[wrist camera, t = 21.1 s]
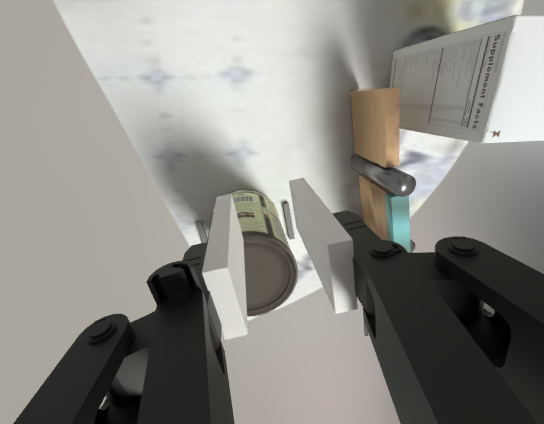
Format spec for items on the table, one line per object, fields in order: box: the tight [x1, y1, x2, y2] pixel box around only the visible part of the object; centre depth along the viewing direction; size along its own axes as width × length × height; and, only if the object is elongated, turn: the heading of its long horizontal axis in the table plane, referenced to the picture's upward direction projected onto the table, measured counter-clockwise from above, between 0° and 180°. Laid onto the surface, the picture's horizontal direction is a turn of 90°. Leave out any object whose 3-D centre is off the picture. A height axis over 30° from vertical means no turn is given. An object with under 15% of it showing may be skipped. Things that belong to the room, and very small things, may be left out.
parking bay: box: [196, 202, 295, 243], centre depth 41 cm, size 10×14×3 cm
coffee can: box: [207, 190, 298, 316], centre depth 35 cm, size 10×10×14 cm
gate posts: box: [351, 87, 416, 252], centre depth 35 cm, size 20×4×12 cm, turn 10°
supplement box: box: [389, 15, 544, 143], centre depth 29 cm, size 10×9×17 cm
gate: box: [358, 173, 411, 253], centre depth 38 cm, size 14×2×10 cm, turn 14°
